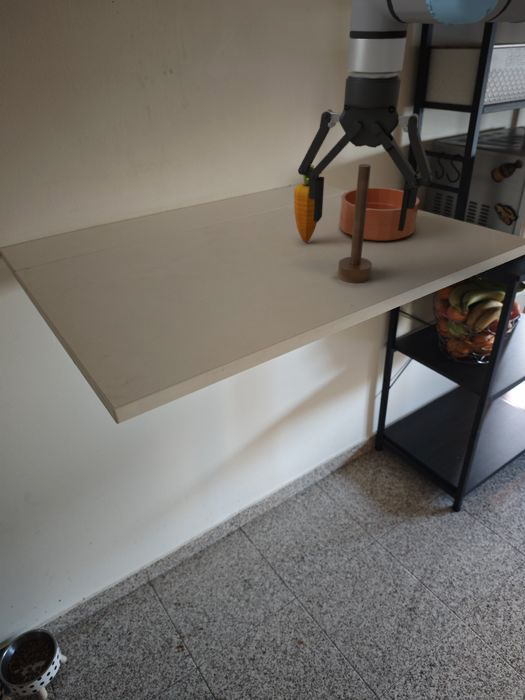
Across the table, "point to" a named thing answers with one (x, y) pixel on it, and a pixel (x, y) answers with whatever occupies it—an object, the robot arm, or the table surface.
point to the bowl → (378, 214)
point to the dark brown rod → (358, 235)
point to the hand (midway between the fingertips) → (358, 223)
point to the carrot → (304, 210)
